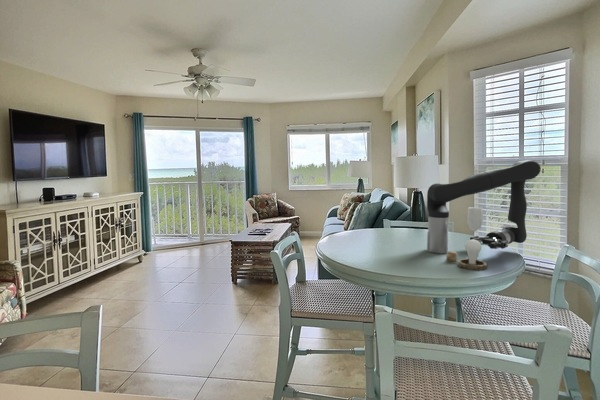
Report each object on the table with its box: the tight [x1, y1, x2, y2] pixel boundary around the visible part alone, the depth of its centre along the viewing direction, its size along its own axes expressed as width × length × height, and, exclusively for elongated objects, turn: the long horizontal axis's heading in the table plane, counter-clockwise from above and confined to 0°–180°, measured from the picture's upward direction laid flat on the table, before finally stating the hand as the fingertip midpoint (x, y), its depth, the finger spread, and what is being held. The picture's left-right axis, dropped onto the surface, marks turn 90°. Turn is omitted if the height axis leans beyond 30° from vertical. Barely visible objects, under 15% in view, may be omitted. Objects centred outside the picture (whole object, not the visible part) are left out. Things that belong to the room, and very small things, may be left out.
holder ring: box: [457, 258, 488, 271], centre depth 144 cm, size 10×10×2 cm
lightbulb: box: [464, 239, 482, 265], centre depth 143 cm, size 6×6×11 cm
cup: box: [466, 206, 484, 232], centre depth 173 cm, size 7×7×21 cm
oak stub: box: [446, 250, 458, 264], centre depth 151 cm, size 4×4×4 cm
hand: (480, 244), depth 147 cm, fingers open, 8 cm apart
